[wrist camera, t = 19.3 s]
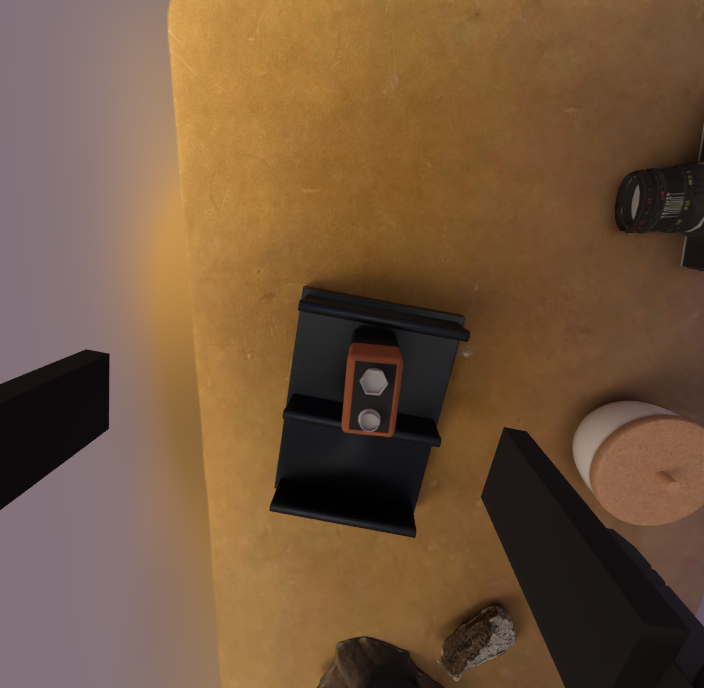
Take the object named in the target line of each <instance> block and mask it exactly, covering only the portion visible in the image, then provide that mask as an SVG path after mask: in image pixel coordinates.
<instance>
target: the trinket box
mask: <svg viewBox="0 0 704 688" xmlns="http://www.w3.org/2000/svg"><path fill="white" fill-rule="evenodd" d="M572 449H573V457H574V461H575V465H576V467H577V469H578V471H579V473H580V475H581V477H582V479H583V480H584V482H585V483H586V485H587V486H588V487H589V489H590V490H591V491H592V492H593V494H594V495H595V497H596V498H597V500H598V501H599V502H600V504H601V505H602V506H603V507H604V508H605V509H606V510H607V511H608V512H609V513H610V514H611V515H613V516H615V517H616V518H618V519H620V520H622V521H625V522H628V523H632V524H636V525H644V526H655V525H662V524H667V523H671V522H675V521H677V520H680V519H682V518H684V517H686V516H688V515H690V514H692V513H693V512H695V511H696V510H698V509H699V508H700V507H701V506H702V505H704V428H703V427H702V426H701V425H699V424H697V423H695V422H693V421H691V420H689V419H686V418H684V417H682V416H680V415H678V414H676V413H674V412H671V411H669V410H667V409H664V408H662V407H659V406H656V405H652V404H648V403H645V402H638V401H619V402H613V403H609V404H606V405H603V406H601V407H598V408H597V409H595V410H593V411H592V412H590V413H589V414H588V415H586V416H585V417H584V418H583V420H582V421H581V423H580V424H579V426H578V427H577V429H576V431H575V434H574V438H573V446H572Z"/></svg>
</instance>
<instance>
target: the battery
mask: <svg viewBox="0 0 704 688" xmlns="http://www.w3.org/2000/svg"><path fill="white" fill-rule="evenodd" d="M402 372H403V359H402V355H401V352H400V348H399V344H398V340H397V337H396V335H395V333H393V332H384V331H374V330H364V329H355V330H354V331H353V333H352V338H351V343H350V348H349V353H348V359H347V369H346V380H345V391H344V402H343V413H342V430H343V431H344V432H346V433H355V434H364V435H374V436H384V437H391V436H392V435H393V434H394V432H395V426H396V418H397V410H398V403H399V395H400V388H401V380H402Z"/></svg>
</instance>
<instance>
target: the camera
mask: <svg viewBox="0 0 704 688" xmlns="http://www.w3.org/2000/svg"><path fill="white" fill-rule="evenodd" d="M615 220H616V224H617V227H618V228H619V230H620V231H624V232H626V233H635V232H637V233H646V232H648V231H662V232H669V233H670V232H681V233H682V234H684V235H685V240H684V246H683V252H682V258H681V264H680V266H682V267H685V268H689V269H696V270H699V271H704V126H703V132H702V138H701V144H700V150H699V156H698V162H697V163H694V164H685V165H679V166H675V167H672V168H666V169H657V168H651V169H647V170H638V171H635V172H633V173H630V174H629V175H627V176H626V177H625V178H624V180H623V182H622V184H621V186H620V188H619V191H618V194H617V198H616V204H615Z"/></svg>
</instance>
